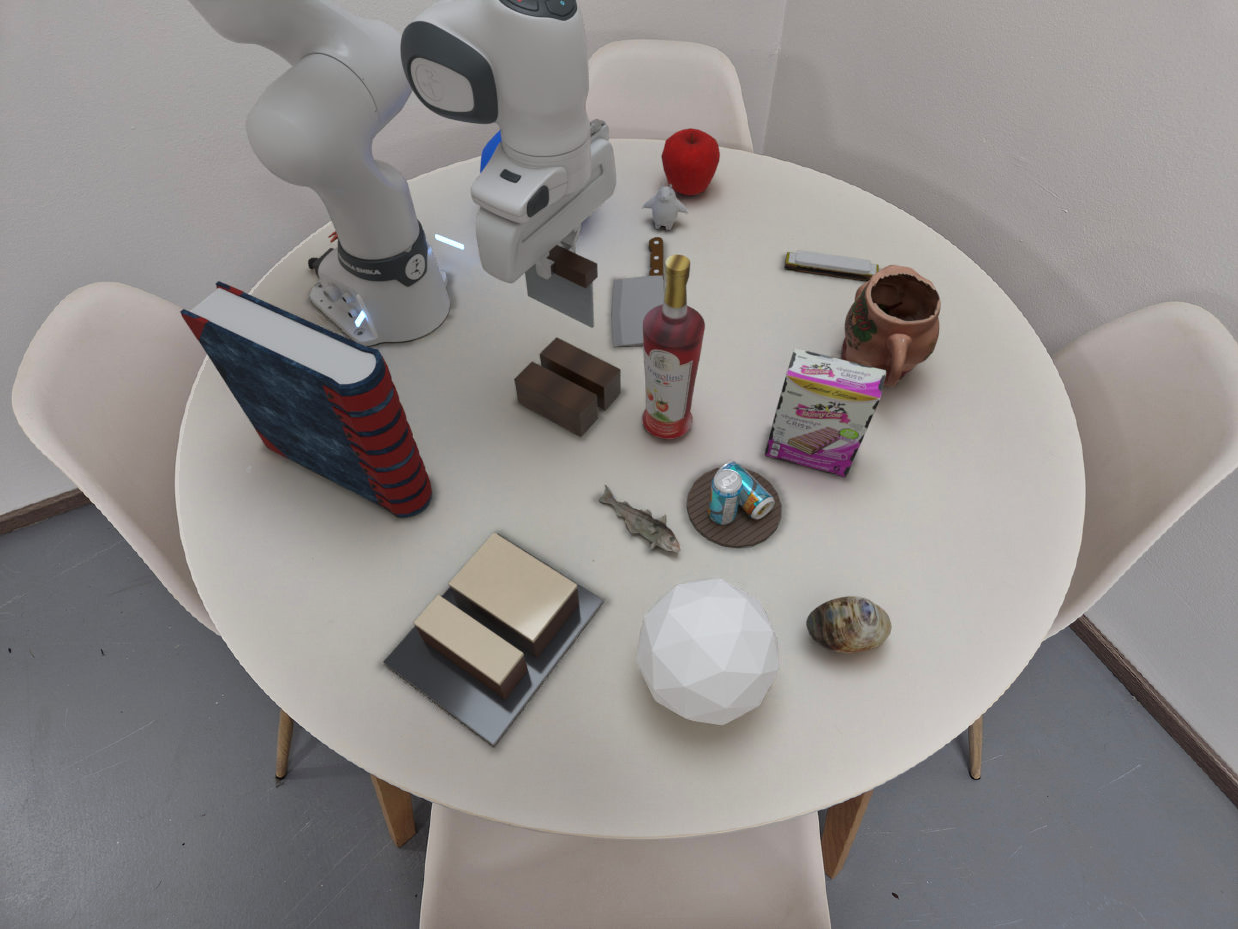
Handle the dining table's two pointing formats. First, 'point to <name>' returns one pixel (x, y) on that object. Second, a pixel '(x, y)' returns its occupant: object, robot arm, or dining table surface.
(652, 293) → the kitchen cleaver
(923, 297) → the decorative planter
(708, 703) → the geometric shape
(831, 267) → the harmonica
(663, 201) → the figurine
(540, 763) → the dining table surface
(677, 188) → the apple
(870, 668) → the dining table surface
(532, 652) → the cake
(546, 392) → the slicer stand
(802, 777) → the dining table surface
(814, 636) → the seashell
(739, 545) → the drink cans on coaster
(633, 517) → the fish
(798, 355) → the candy bar box
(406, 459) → the book
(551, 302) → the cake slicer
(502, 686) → the cake slice
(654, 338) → the liquor
